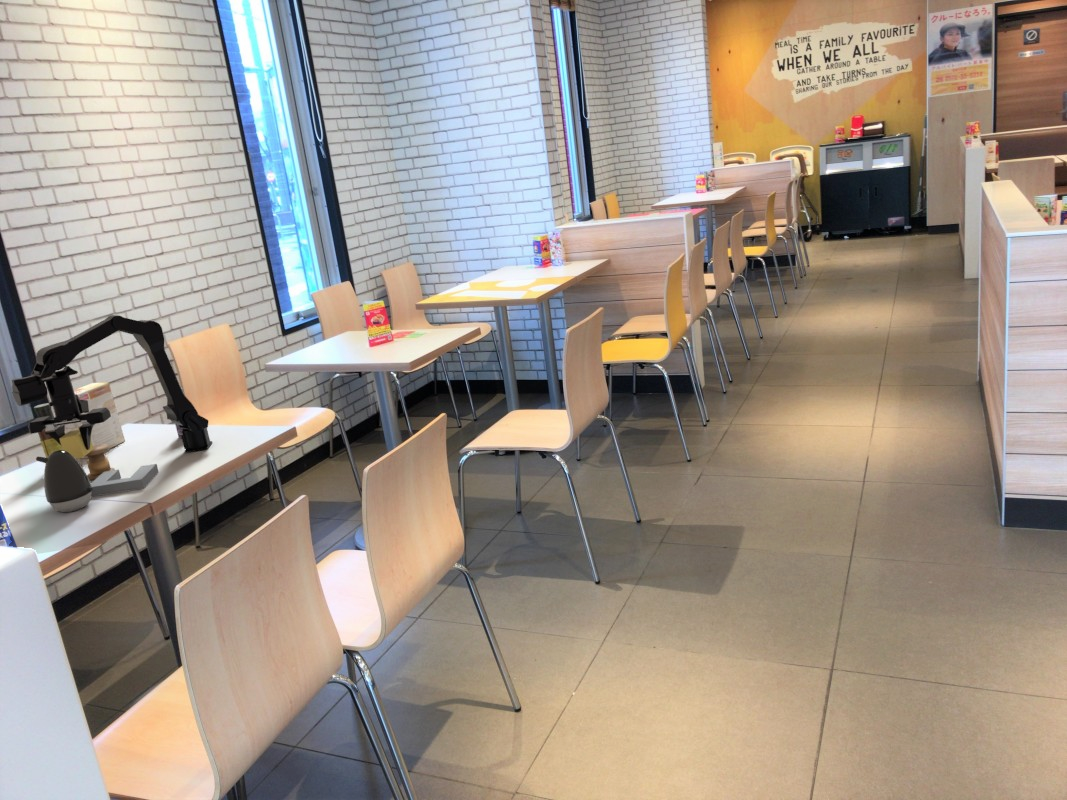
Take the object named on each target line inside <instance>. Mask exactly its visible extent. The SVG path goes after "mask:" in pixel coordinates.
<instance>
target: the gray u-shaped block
mask: <svg viewBox="0 0 1067 800" xmlns="http://www.w3.org/2000/svg"><path fill="white" fill-rule="evenodd" d="M159 473H160V472H159V469H158V464H157V463H153V464H152V463H151V464H145V465H141V466H140V467H138V469H137V470H136V471H135V472H134V473H133V474H132V475H130V477H125V478H122V476H121V472H120V470H119V469H115V470H112V471H106V472H103V473H102V474H101V475H100V476H99V477H97V478H96V479H95V480H94V481H91V482H90V483H91V485H92V491H91V492H92V494H91V497H98V496H102V495H103V496H104V495H109V494H116V493H122V492H128V491H134V490H141V489H146V487H147V486H148V484H149V483H151V481H152V480H153V479H154V478H155V477H156V476H157V475H158V474H159Z"/></svg>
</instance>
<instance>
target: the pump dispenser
mask: <svg viewBox="0 0 1067 800" xmlns="http://www.w3.org/2000/svg"><path fill="white" fill-rule="evenodd" d="M35 460H36V462H41V463H43V464H45V465H44V472H43V486H44V495H45V499H46V501H47V502H48V503H49V505H50V506H51V507H52V508H53V509H54V510H55V511H58V512H62V513H72V512H75V511H78V510H81V509H83V508H84V507H85V506H86V505H88V504H89V502H90V500H91V498H92V496H91V494H92V492H91V491H92V485H91V483H92V482H91V481H90V480H89V478H88V476H87V475H88V473H87V472H86V471H85V469H84V468H83V466H82V465H81V464H80V462H79V461H78V459H75V458H74V457H73V456H72V455H71V454H70V453H69V452H67V451H64V450H57V451H54V452H52V453H51V454H50V455H49V457H48V458H46V456H45V457H44V456H36V458H35Z"/></svg>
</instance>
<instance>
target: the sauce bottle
mask: <svg viewBox="0 0 1067 800" xmlns="http://www.w3.org/2000/svg"><path fill="white" fill-rule="evenodd" d="M49 403H50V402H47V403H42V404H38V405H35V406H34V407H33V410H34V413H36V416H37V418H40V417H46V416H51V417H52V418H53V419H54V417H55V416H54V415H53V411H52V406H50V404H49ZM45 432H46V431H45V428H44V430H43V431H42V432H39V433H37V434H38V437H39V439H40V440H39V441H40V445H41V447H42V449H43V453H44V455H45V458H48V457H49V455H50V454H51V453H52V452H54V451H57V450H63V449H62V446H61V445H60V444H59V443H58V442H57V441H56V440H55V439H53V438H52V437H51V436H50V435H48V434H45Z"/></svg>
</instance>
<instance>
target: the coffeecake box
mask: <svg viewBox="0 0 1067 800" xmlns="http://www.w3.org/2000/svg"><path fill="white" fill-rule="evenodd" d="M73 390H74V393H75V394H77V395H78V397H79V399H80V400H87V401H88V407H89V412H90V411H91V410H93V409H98V408H105V407H106V408H107V409H108V410H109V411H110V415H111V417H110V418H108V419H107V420H106V421H105V422H102V423H97V424H95V425H93V428H92V432H91V441H92V445H93V446H94V445H100V444H107V445H108V447H109V450H110V449H112V448H114V447H115V446H118V445H120V444H122V443H125V442H126V439H125V436H124V432H123V428H122V424H121V422H120V418H119V414H118V411H117V407H116V403H115V401H114V397H113V393H112V390H111V386H110V382H108V381H107V382H106V381H105V382H91V383H89V384H86V385H84V386H81V387H79V388H76V389H73ZM82 414H87V413H81V415H82ZM72 420H75V419H72ZM66 421H67V420H66ZM64 425H65V434H66V433H68V432H69V431H71V430H77V429H79V427H80V426H82V423H81V422H77V423H71V424H64ZM78 459H80V458H77V459H76V460H78ZM82 459H88V456H87V457H83V458H82Z"/></svg>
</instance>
